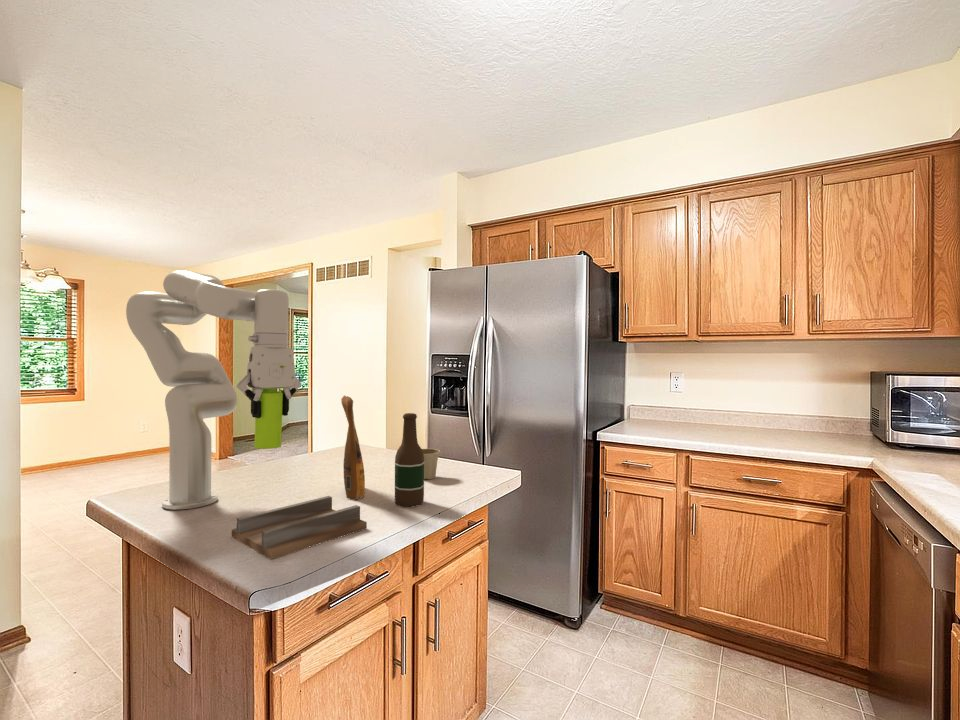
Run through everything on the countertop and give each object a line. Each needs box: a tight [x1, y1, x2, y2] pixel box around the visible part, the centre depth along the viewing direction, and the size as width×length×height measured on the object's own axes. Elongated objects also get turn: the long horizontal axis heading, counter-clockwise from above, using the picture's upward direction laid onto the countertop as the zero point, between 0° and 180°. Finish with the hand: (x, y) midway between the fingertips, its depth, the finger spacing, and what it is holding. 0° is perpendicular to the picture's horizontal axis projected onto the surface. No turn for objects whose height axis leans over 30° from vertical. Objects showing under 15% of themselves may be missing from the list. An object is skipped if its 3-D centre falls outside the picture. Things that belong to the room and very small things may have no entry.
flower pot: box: [421, 448, 441, 481], centre depth 154 cm, size 9×9×9 cm
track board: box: [231, 495, 368, 560], centre depth 104 cm, size 18×22×4 cm
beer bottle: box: [394, 412, 425, 508], centre depth 126 cm, size 8×8×24 cm
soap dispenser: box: [254, 365, 287, 450], centre depth 114 cm, size 6×7×20 cm
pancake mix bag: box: [340, 394, 366, 501], centre depth 136 cm, size 7×19×28 cm, turn 16°
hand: (270, 415), depth 113 cm, fingers closed on soap dispenser, 5 cm apart
